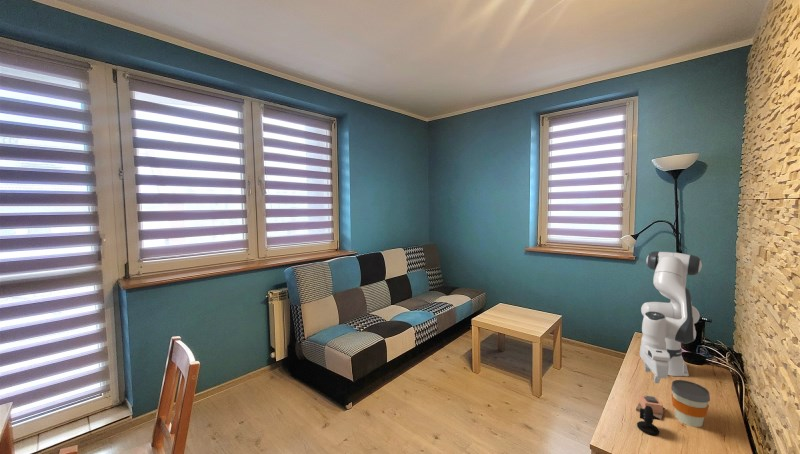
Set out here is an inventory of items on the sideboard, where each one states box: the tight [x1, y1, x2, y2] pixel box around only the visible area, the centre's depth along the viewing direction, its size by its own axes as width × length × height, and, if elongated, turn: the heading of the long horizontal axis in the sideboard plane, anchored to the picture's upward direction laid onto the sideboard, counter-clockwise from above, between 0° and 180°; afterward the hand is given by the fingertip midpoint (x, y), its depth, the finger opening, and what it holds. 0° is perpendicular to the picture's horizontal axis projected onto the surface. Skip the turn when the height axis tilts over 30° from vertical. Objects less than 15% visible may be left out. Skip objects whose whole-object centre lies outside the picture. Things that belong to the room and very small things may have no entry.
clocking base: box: [635, 395, 666, 421], centre depth 146 cm, size 10×9×6 cm
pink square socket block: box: [638, 394, 664, 415], centre depth 146 cm, size 7×7×4 cm
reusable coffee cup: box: [670, 379, 711, 428], centre depth 139 cm, size 13×13×15 cm
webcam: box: [636, 406, 661, 436], centre depth 134 cm, size 8×8×10 cm
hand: (651, 376), depth 145 cm, fingers open, 8 cm apart
